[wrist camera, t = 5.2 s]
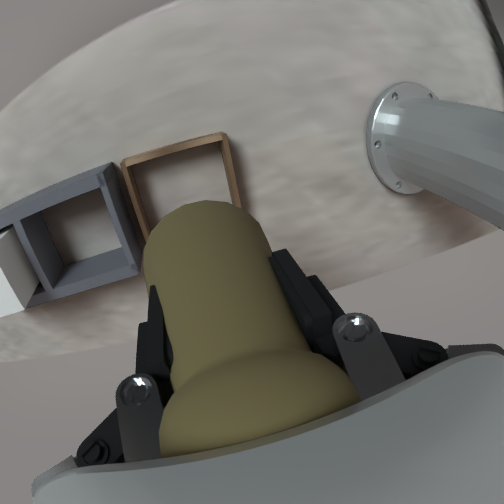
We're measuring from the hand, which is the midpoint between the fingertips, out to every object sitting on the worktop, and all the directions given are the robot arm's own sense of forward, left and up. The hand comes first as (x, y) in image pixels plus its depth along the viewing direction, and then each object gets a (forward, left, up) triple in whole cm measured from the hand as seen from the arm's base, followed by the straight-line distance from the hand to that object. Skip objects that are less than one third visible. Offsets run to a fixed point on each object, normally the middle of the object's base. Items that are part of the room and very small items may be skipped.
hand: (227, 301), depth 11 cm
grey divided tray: (+14, 0, -16) cm, 21 cm away
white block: (+19, 0, -16) cm, 25 cm away
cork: (0, 0, -3) cm, 3 cm away
